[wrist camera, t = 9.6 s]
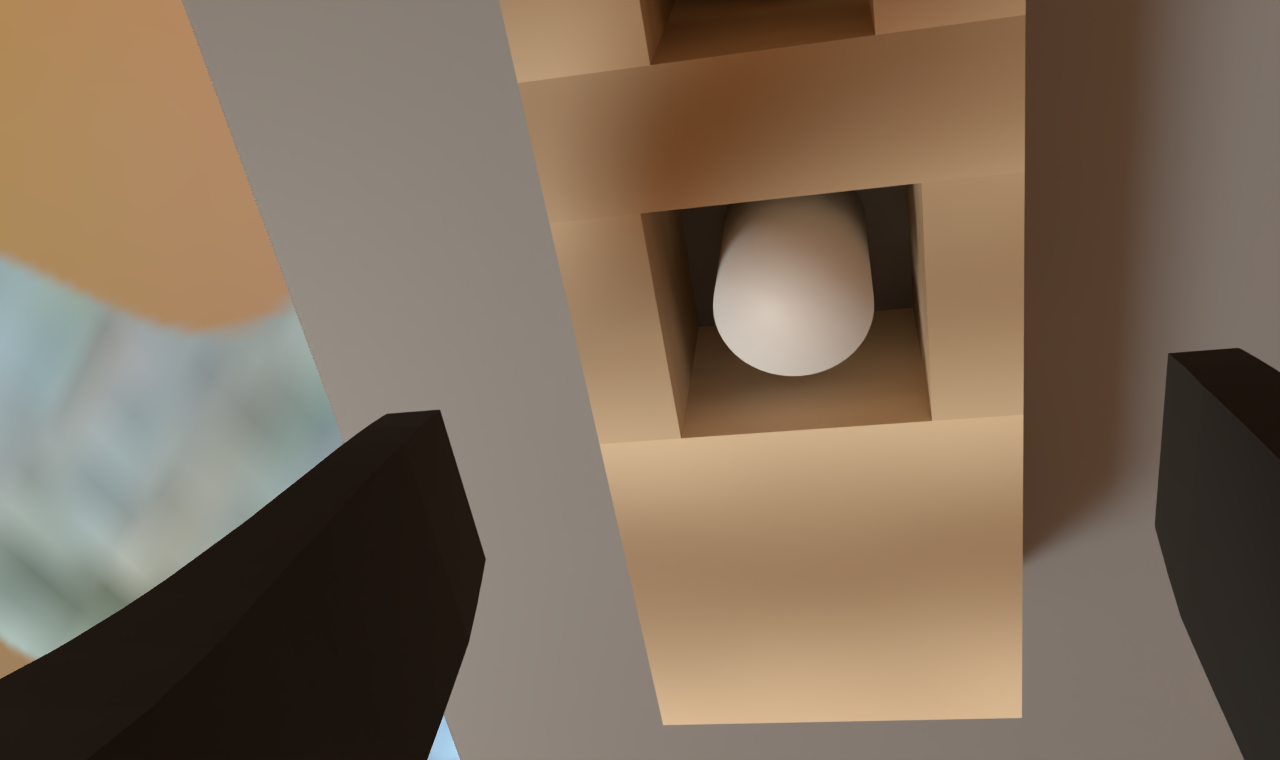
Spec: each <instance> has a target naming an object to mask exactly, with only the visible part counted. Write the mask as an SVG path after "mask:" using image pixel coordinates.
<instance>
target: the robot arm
mask: <svg viewBox="0 0 1280 760" xmlns="http://www.w3.org/2000/svg"><path fill="white" fill-rule="evenodd" d="M1155 529H1156V533H1157V537H1158V540H1159V544H1160V547H1161V551H1162V555H1163V558H1164V562H1165V566H1166V569H1167V573H1168V576H1169V580H1170V583H1171V586H1172V590H1173V593H1174V596H1175V600H1176V603H1177V606H1178V610H1179V613H1180V616H1181V619H1182V621H1183V623H1184V626H1185V628H1186V630H1187V633H1188V635H1189V637H1190V640H1191V642H1192V644H1193V647H1194V649H1195V651H1196V653H1197V656H1198V658H1199V660H1200V662H1201V665H1202V667H1203V669H1204V671H1205V674H1206V676H1207V678H1208V680H1209V683H1210V685H1211V687H1212V690H1213V692H1214V694H1215V696H1216V698H1217V701H1218V703H1219V705H1220V707H1221V709H1222V712H1223V714H1224V716H1225V718H1226V721H1227V723H1228V725H1229V727H1230V729H1231V732H1232V734H1233V736H1234V738H1235V740H1236V743H1237V745H1238V747H1239V749H1240V752H1241V754H1242V756H1243V758H1244V760H1280V372H1279V371H1277V370H1276V369H1274V368H1273V367H1271V366H1269V365H1268V364H1266V363H1265V362H1263V361H1261V360H1260V359H1258V358H1256V357H1255V356H1253V355H1251V354H1249V353H1248V352H1246V351H1244V350H1242V349H1240V348H1229V349H1216V350H1203V351H1190V352H1177V353H1168V361H1167V374H1166V386H1165V399H1164V412H1163V425H1162V438H1161V450H1160V463H1159V476H1158V489H1157V501H1156V514H1155ZM485 561H486V558H485V555H484V551H483V548H482V545H481V542H480V538H479V535H478V532H477V529H476V525H475V522H474V519H473V515H472V512H471V509H470V506H469V502H468V499H467V496H466V493H465V489H464V486H463V483H462V480H461V476H460V473H459V470H458V466H457V463H456V460H455V457H454V453H453V450H452V447H451V444H450V440H449V437H448V434H447V431H446V427H445V424H444V421H443V417H442V414H441V411H440V410H428V411H415V412H402V413H389V414H385V415H384V416H382V417H381V418H379V419H377V420H376V421H374V422H373V423H371V424H370V425H368V426H367V427H366V428H364V429H363V430H361V431H360V432H359V433H357V434H356V435H355V436H353V437H352V438H351V439H349V440H348V441H347V442H346V443H344V444H343V445H342V446H340V447H339V448H338V449H337V450H335V451H334V452H333V453H331V454H330V455H329V456H328V457H326V458H325V459H324V460H323V461H321V462H320V463H319V464H318V465H316V466H315V467H314V468H313V469H311V470H310V471H309V472H308V473H306V474H305V475H304V476H303V477H301V478H300V479H299V480H297V481H296V482H295V483H294V484H292V485H291V486H290V487H289V488H287V489H286V490H285V491H284V492H282V493H281V494H280V495H278V496H277V497H276V498H275V499H273V500H272V501H271V502H270V503H268V504H267V505H266V506H265V507H263V508H262V509H261V510H259V511H258V512H257V513H256V514H254V515H253V516H252V517H251V518H249V519H248V520H247V521H245V522H244V523H243V524H241V525H240V526H239V527H237V528H236V529H235V530H233V531H232V532H231V533H229V534H228V535H226V536H225V537H224V538H222V539H221V540H220V541H218V542H217V543H216V544H214V545H213V546H211V547H210V548H209V549H207V550H206V551H205V552H203V553H202V554H200V555H199V556H198V557H196V558H195V559H194V560H192V561H191V562H190V563H188V564H187V565H185V566H184V567H183V568H181V569H180V570H179V571H177V572H176V573H175V574H173V575H172V576H170V577H169V578H168V579H166V580H165V581H163V582H162V583H160V584H159V585H157V586H156V587H154V588H153V589H152V590H150V591H149V592H147V593H146V594H144V595H143V596H141V597H140V598H138V599H136V600H135V601H133V602H132V603H130V604H129V605H127V606H126V607H124V608H123V609H121V610H120V611H118V612H116V613H115V614H113V615H111V616H110V617H108V618H107V619H105V620H103V621H102V622H100V623H98V624H97V625H95V626H94V627H92V628H90V629H89V630H87V631H85V632H84V633H82V634H81V635H79V636H77V637H76V638H74V639H72V640H71V641H69V642H67V643H66V644H64V645H62V646H60V647H59V648H57V649H55V650H53V651H52V652H50V653H48V654H46V655H44V656H42V657H41V658H39V659H37V660H35V661H33V662H31V663H29V664H27V665H26V666H24V667H22V668H20V669H18V670H16V671H14V672H13V673H11V674H9V675H7V676H5V677H3V678H1V679H0V760H427V759H428V756H429V753H430V750H431V748H432V745H433V742H434V740H435V737H436V734H437V731H438V729H439V726H440V723H441V720H442V718H443V715H444V712H445V709H446V707H447V704H448V701H449V698H450V695H451V693H452V690H453V687H454V684H455V681H456V678H457V676H458V673H459V670H460V667H461V664H462V661H463V658H464V655H465V652H466V650H467V647H468V644H469V640H470V636H471V631H472V627H473V622H474V618H475V613H476V609H477V604H478V599H479V593H480V588H481V583H482V577H483V572H484V567H485Z"/></svg>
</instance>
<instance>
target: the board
mask: <svg viewBox="0 0 1280 760" xmlns="http://www.w3.org/2000/svg"><path fill="white" fill-rule="evenodd" d="M182 2H183V5H184V7H185V10H186V12H187V15H188V18H189V21H190V24H191V26H192V29H193V32H194V35H195V37H196V40H197V43H198V46H199V48H200V51H201V54H202V56H203V59H204V62H205V65H206V67H207V70H208V73H209V75H210V78H211V81H212V83H213V86H214V89H215V92H216V95H217V97H218V100H219V103H220V105H221V108H222V111H223V114H224V116H225V119H226V122H227V124H228V127H229V130H230V133H231V135H232V138H233V141H234V143H235V146H236V149H237V152H238V155H239V157H240V160H241V163H242V165H243V168H244V171H245V174H246V176H247V179H248V182H249V185H250V187H251V190H252V193H253V196H254V198H255V201H256V204H257V206H258V209H259V212H260V215H261V217H262V220H263V223H264V226H265V228H266V231H267V234H268V236H269V239H270V242H271V244H272V247H273V250H274V253H275V256H276V258H277V261H278V264H279V266H280V269H281V272H282V274H283V277H284V280H285V283H286V286H287V288H288V291H289V294H290V296H291V299H292V302H293V305H294V307H295V310H296V313H297V316H298V318H299V321H300V324H301V326H302V329H303V332H304V335H305V337H306V340H307V343H308V346H309V348H310V351H311V354H312V356H313V359H314V362H315V365H316V367H317V370H318V373H319V376H320V378H321V381H322V384H323V386H324V389H325V392H326V395H327V397H328V400H329V403H330V406H331V408H332V411H333V414H334V416H335V419H336V422H337V425H338V427H339V430H340V433H341V436H342V438H343V441H344V443H346V442H347V441H348V440H349V439H351V438H352V437H353V436H355V435H356V434H357V433H359V432H360V431H361V430H363V429H364V428H366V427H367V426H368V425H370V424H371V423H373V422H374V421H376V420H377V419H379V418H381V417H382V416H384V415H385V414H389V413H402V412H415V411H428V410H440V411H441V414H442V417H443V421H444V424H445V427H446V431H447V434H448V437H449V440H450V444H451V447H452V450H453V453H454V457H455V460H456V463H457V466H458V470H459V473H460V476H461V480H462V483H463V486H464V489H465V493H466V496H467V499H468V502H469V506H470V509H471V512H472V515H473V519H474V522H475V525H476V529H477V532H478V535H479V538H480V542H481V545H482V548H483V551H484V555H485V558H486V561H485V567H484V572H483V577H482V583H481V588H480V593H479V599H478V604H477V609H476V613H475V618H474V622H473V627H472V631H471V636H470V640H469V644H468V647H467V650H466V652H465V655H464V658H463V661H462V664H461V667H460V670H459V673H458V676H457V678H456V681H455V684H454V687H453V690H452V693H451V695H450V698H449V701H448V704H447V707H446V709H445V712H444V716H445V719H446V722H447V725H448V727H449V730H450V733H451V736H452V738H453V741H454V744H455V746H456V749H457V752H458V755H459V757H460V760H1244V758H1243V756H1242V754H1241V752H1240V749H1239V747H1238V745H1237V743H1236V740H1235V738H1234V736H1233V734H1232V732H1231V729H1230V727H1229V725H1228V723H1227V721H1226V718H1225V716H1224V714H1223V712H1222V709H1221V707H1220V705H1219V703H1218V701H1217V698H1216V696H1215V694H1214V692H1213V690H1212V687H1211V685H1210V683H1209V680H1208V678H1207V676H1206V674H1205V671H1204V669H1203V667H1202V665H1201V662H1200V660H1199V658H1198V656H1197V653H1196V651H1195V649H1194V647H1193V644H1192V642H1191V640H1190V637H1189V635H1188V633H1187V630H1186V628H1185V626H1184V623H1183V621H1182V619H1181V616H1180V613H1179V610H1178V606H1177V603H1176V600H1175V596H1174V593H1173V590H1172V586H1171V583H1170V580H1169V576H1168V573H1167V569H1166V566H1165V562H1164V558H1163V555H1162V551H1161V547H1160V544H1159V540H1158V537H1157V533H1156V529H1155V514H1156V501H1157V489H1158V476H1159V463H1160V450H1161V438H1162V425H1163V412H1164V399H1165V386H1166V374H1167V361H1168V353H1177V352H1190V351H1203V350H1216V349H1229V348H1240V349H1242V350H1244V351H1246V352H1248V353H1249V354H1251V355H1253V356H1255V357H1256V358H1258V359H1260V360H1261V361H1263V362H1265V363H1266V364H1268V365H1269V366H1271V367H1273V368H1274V369H1276V370H1277V371H1279V372H1280V0H1026V17H1025V210H1024V404H1023V598H1022V718H995V719H945V720H896V721H846V722H796V723H746V724H696V725H663V722H662V718H661V713H660V709H659V704H658V700H657V696H656V691H655V687H654V682H653V678H652V673H651V669H650V665H649V660H648V656H647V651H646V647H645V643H644V638H643V634H642V629H641V625H640V621H639V616H638V612H637V607H636V603H635V598H634V594H633V590H632V585H631V581H630V576H629V572H628V568H627V563H626V559H625V554H624V550H623V546H622V541H621V537H620V532H619V528H618V524H617V519H616V515H615V510H614V506H613V501H612V497H611V493H610V488H609V484H608V479H607V475H606V471H605V466H604V462H603V457H602V453H601V449H600V444H599V440H598V435H597V431H596V426H595V422H594V418H593V413H592V409H591V404H590V400H589V396H588V391H587V387H586V382H585V378H584V374H583V369H582V365H581V360H580V356H579V351H578V347H577V343H576V338H575V334H574V329H573V325H572V321H571V316H570V312H569V307H568V303H567V299H566V294H565V290H564V285H563V281H562V277H561V272H560V268H559V263H558V259H557V254H556V250H555V246H554V241H553V237H552V232H551V228H550V224H549V219H548V215H547V210H546V206H545V202H544V197H543V193H542V188H541V184H540V179H539V175H538V171H537V166H536V162H535V157H534V153H533V149H532V144H531V140H530V135H529V131H528V127H527V122H526V118H525V113H524V109H523V104H522V100H521V96H520V91H519V87H518V82H517V78H516V74H515V69H514V65H513V60H512V56H511V52H510V47H509V43H508V38H507V34H506V29H505V25H504V21H503V16H502V12H501V7H500V3H499V0H182ZM680 212H681V218H682V224H683V230H684V236H685V242H686V249H687V255H688V261H689V267H690V273H691V280H692V286H693V292H694V298H695V304H696V310H697V317H698V323H699V327H702V326H714V325H716V326H717V329H718V331H719V334H720V335H721V337H722V339H723V341H724V342H725V343H726V345H727V346H728V347H729V349H730V350H731V351H732V352H733V353H734V354H735V355H736V356H738V357H739V358H740V359H741V360H743V361H744V362H746V363H747V364H749V365H751V366H753V367H755V368H757V369H759V370H762V371H765V372H768V373H771V374H776V375H783V376H804V375H811V374H815V373H819V372H822V371H825V370H827V369H830V368H832V367H834V366H836V365H838V364H839V363H841V362H842V361H844V360H845V359H847V358H848V357H849V356H850V355H851V354H852V353H854V352H855V350H856V349H857V348H858V347H859V346H860V345H861V343H862V342H863V340H864V339H865V337H866V335H867V333H868V331H869V329H870V326H871V323H872V320H873V314H874V311H883V310H894V309H906V308H913V298H912V279H911V259H910V240H909V220H908V201H907V185H898V186H889V187H880V188H871V189H861V190H852V191H843V192H834V193H825V194H815V195H806V196H797V197H788V198H779V199H770V200H760V201H751V202H742V203H733V204H724V205H715V206H705V207H696V208H687V209H680Z"/></svg>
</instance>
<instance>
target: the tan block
mask: <svg viewBox="0 0 1280 760" xmlns="http://www.w3.org/2000/svg"><path fill="white" fill-rule="evenodd" d="M499 3H500V7H501V12H502V16H503V21H504V25H505V29H506V34H507V38H508V43H509V47H510V52H511V56H512V60H513V65H514V69H515V74H516V78H517V82H518V87H519V91H520V96H521V100H522V104H523V109H524V113H525V118H526V122H527V127H528V131H529V135H530V140H531V144H532V149H533V153H534V157H535V162H536V166H537V171H538V175H539V179H540V184H541V188H542V193H543V197H544V202H545V206H546V210H547V215H548V219H549V224H550V228H551V232H552V237H553V241H554V246H555V250H556V254H557V259H558V263H559V268H560V272H561V277H562V281H563V285H564V290H565V294H566V299H567V303H568V307H569V312H570V316H571V321H572V325H573V329H574V334H575V338H576V343H577V347H578V351H579V356H580V360H581V365H582V369H583V374H584V378H585V382H586V387H587V391H588V396H589V400H590V404H591V409H592V413H593V418H594V422H595V426H596V431H597V435H598V440H599V444H600V449H601V453H602V457H603V462H604V466H605V471H606V475H607V479H608V484H609V488H610V493H611V497H612V501H613V506H614V510H615V515H616V519H617V524H618V528H619V532H620V537H621V541H622V546H623V550H624V554H625V559H626V563H627V568H628V572H629V576H630V581H631V585H632V590H633V594H634V598H635V603H636V607H637V612H638V616H639V621H640V625H641V629H642V634H643V638H644V643H645V647H646V651H647V656H648V660H649V665H650V669H651V673H652V678H653V682H654V687H655V691H656V696H657V700H658V704H659V709H660V713H661V718H662V722H663V725H696V724H746V723H796V722H846V721H896V720H945V719H995V718H1022V598H1023V404H1024V210H1025V17H1026V0H499ZM898 185H907V201H908V220H909V240H910V259H911V279H912V298H913V308H906V309H894V310H883V311H874V314H873V320H872V323H871V326H870V329H869V331H868V333H867V335H866V337H865V339H864V340H863V342H862V343H861V345H860V346H859V347H858V348H857V349H856V350H855V352H854V353H852V354H851V355H850V356H849V357H848V358H847V359H845V360H844V361H842V362H841V363H839V364H838V365H836V366H834V367H832V368H830V369H827V370H825V371H822V372H819V373H815V374H811V375H804V376H783V375H776V374H771V373H768V372H765V371H762V370H759V369H757V368H755V367H753V366H751V365H749V364H747V363H746V362H744V361H743V360H741V359H740V358H739V357H738V356H736V355H735V354H734V353H733V352H732V351H731V350H730V349H729V347H728V346H727V345H726V343H725V342H724V341H723V339H722V337H721V335H720V334H719V331H718V329H717V326H716V325H714V326H702V327H699V323H698V317H697V310H696V304H695V298H694V292H693V286H692V280H691V273H690V267H689V261H688V255H687V249H686V242H685V236H684V230H683V224H682V218H681V212H680V209H687V208H696V207H705V206H715V205H724V204H733V203H742V202H751V201H760V200H770V199H779V198H788V197H797V196H806V195H815V194H825V193H834V192H843V191H852V190H861V189H871V188H880V187H889V186H898Z"/></svg>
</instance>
